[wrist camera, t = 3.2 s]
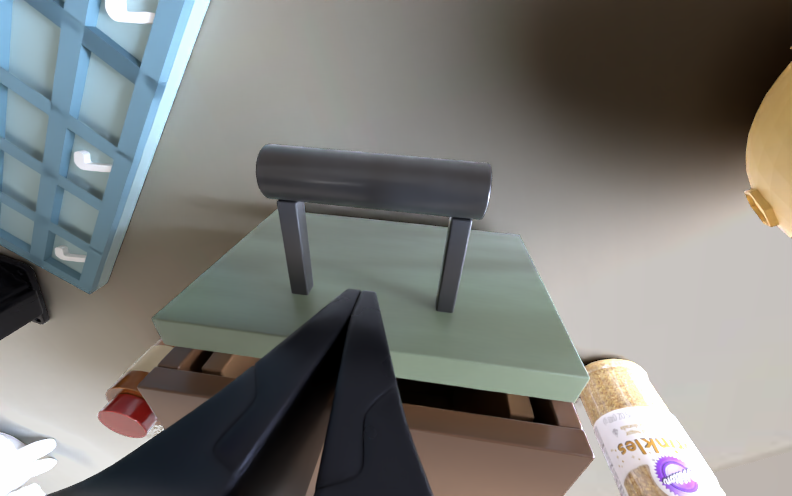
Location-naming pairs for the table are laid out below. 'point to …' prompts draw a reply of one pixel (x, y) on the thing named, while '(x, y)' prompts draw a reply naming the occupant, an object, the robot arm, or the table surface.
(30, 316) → the robot arm
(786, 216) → the stress ball
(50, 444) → the white animal figurine
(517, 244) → the drawer
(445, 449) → the cabinet
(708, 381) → the table surface
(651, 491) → the sprinkles bottle
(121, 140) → the calendar
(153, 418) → the spice bottle
